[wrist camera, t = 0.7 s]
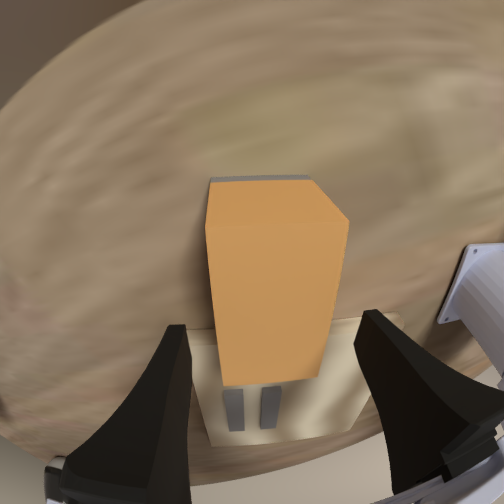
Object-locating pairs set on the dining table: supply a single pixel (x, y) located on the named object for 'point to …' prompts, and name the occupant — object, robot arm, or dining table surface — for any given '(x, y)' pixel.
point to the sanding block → (272, 275)
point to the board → (286, 391)
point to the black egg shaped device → (55, 482)
